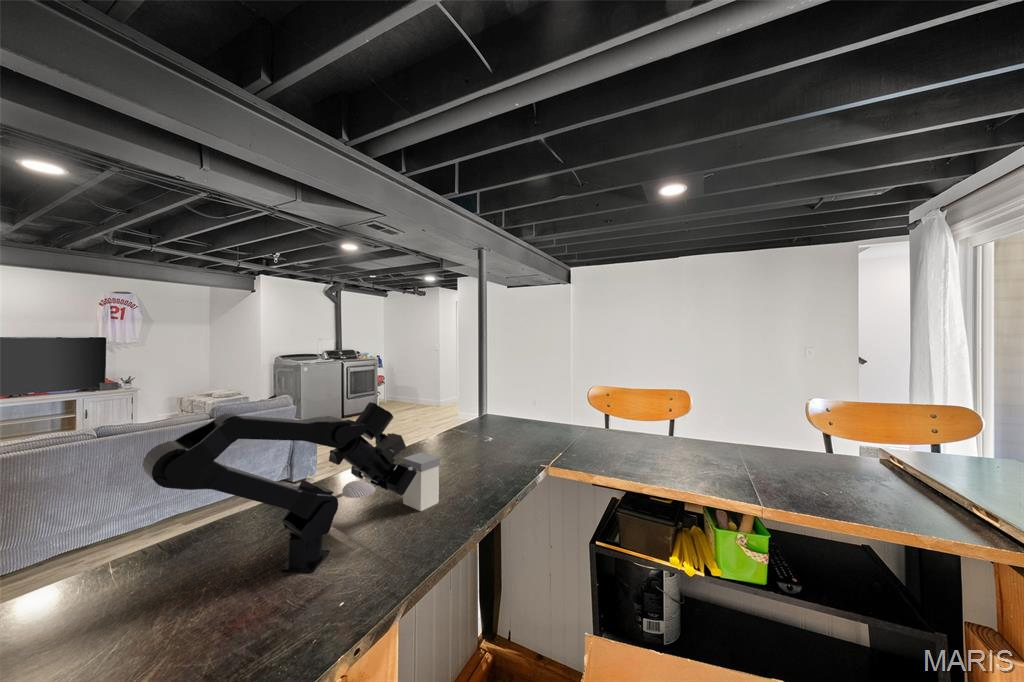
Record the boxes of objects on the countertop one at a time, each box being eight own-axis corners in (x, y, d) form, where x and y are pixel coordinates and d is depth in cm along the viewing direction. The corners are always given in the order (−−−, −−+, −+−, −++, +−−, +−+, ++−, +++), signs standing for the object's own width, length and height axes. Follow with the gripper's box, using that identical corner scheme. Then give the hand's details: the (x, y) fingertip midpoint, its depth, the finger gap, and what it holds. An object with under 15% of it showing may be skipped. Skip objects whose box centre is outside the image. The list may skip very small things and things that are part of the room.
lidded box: (420, 511, 92) (421, 464, 91) (402, 503, 96) (403, 458, 96) (439, 502, 97) (439, 457, 96) (420, 495, 101) (421, 452, 101)
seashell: (352, 477, 109) (382, 472, 107) (355, 495, 109) (385, 491, 107) (329, 490, 99) (362, 485, 97) (332, 510, 99) (365, 506, 97)
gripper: (410, 432, 81) (446, 467, 90) (362, 420, 92) (398, 452, 101) (379, 478, 75) (420, 510, 84) (331, 459, 86) (373, 490, 95)
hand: (402, 488), depth 91 cm, fingers closed
